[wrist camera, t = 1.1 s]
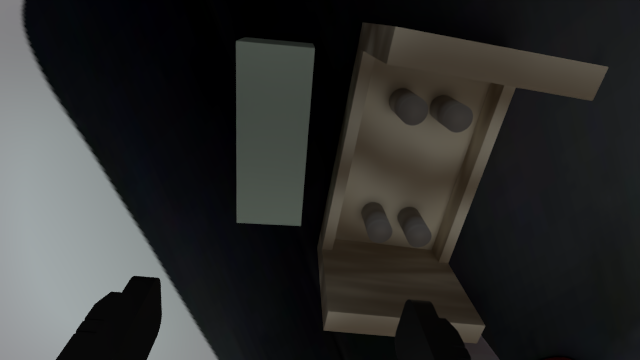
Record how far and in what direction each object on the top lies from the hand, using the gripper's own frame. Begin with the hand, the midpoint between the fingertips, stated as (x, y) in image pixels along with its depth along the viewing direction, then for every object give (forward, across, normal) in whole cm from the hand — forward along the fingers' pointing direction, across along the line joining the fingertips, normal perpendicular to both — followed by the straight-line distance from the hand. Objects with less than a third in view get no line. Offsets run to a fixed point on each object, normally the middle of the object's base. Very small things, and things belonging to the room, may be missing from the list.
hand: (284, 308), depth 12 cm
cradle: (+17, -9, 0) cm, 19 cm away
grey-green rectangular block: (+17, +1, -1) cm, 17 cm away
